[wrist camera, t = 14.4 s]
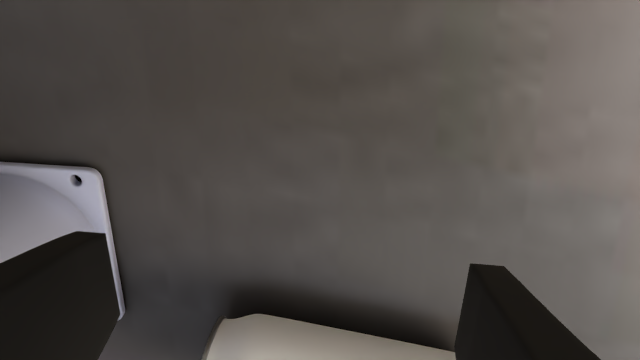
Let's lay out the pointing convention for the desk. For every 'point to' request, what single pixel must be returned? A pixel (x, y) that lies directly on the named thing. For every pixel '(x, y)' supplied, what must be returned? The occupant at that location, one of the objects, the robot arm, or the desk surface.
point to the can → (305, 342)
